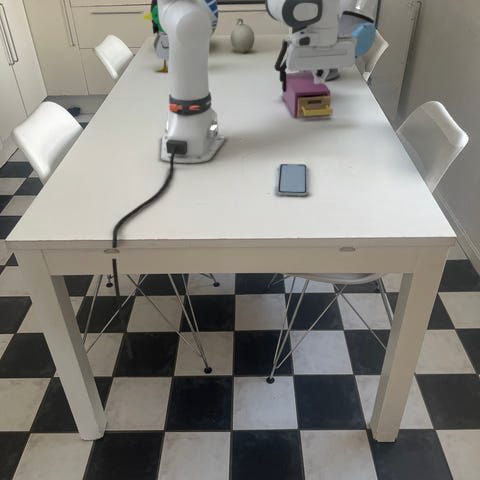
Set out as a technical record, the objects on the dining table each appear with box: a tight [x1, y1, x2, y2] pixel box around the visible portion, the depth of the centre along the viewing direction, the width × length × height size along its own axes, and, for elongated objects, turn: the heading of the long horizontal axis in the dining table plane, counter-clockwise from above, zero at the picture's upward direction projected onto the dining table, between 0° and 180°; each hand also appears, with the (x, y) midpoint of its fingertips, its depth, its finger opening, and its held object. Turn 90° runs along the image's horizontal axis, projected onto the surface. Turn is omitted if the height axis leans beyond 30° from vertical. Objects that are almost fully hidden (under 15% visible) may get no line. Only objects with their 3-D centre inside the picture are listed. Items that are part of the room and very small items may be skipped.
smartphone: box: [277, 163, 308, 197], centre depth 132 cm, size 7×1×15 cm
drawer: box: [296, 94, 334, 119], centre depth 168 cm, size 24×10×6 cm, turn 7°
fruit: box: [230, 18, 255, 53], centre depth 228 cm, size 10×12×15 cm
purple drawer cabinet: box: [281, 72, 331, 118], centre depth 174 cm, size 20×11×8 cm, turn 7°
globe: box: [149, 0, 219, 36], centre depth 229 cm, size 30×30×30 cm
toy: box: [141, 5, 169, 73], centre depth 204 cm, size 8×20×24 cm, turn 69°
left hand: (319, 83), depth 156 cm, fingers closed
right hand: (301, 89), depth 179 cm, fingers closed on purple drawer cabinet, 11 cm apart
